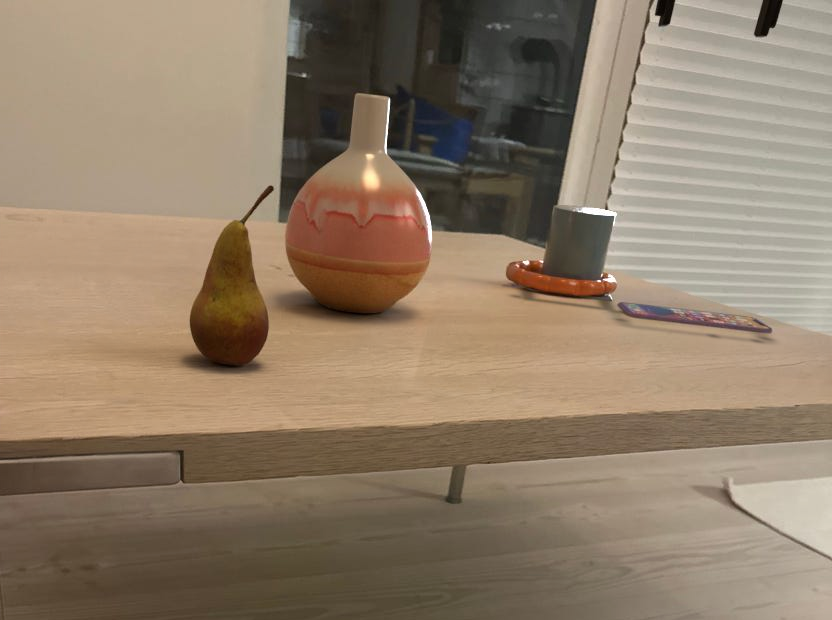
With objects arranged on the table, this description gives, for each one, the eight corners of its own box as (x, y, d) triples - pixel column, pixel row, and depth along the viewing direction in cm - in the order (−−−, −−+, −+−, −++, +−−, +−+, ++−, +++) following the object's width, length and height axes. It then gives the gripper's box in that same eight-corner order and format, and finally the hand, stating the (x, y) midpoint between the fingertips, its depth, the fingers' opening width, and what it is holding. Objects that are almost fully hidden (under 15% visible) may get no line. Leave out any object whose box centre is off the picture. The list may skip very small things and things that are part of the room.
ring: (609, 282, 110) (612, 268, 109) (618, 302, 99) (622, 286, 98) (505, 269, 111) (508, 255, 110) (503, 287, 100) (506, 271, 99)
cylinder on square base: (602, 293, 109) (621, 210, 104) (610, 308, 101) (631, 219, 96) (526, 283, 109) (541, 200, 105) (528, 298, 102) (545, 209, 97)
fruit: (219, 347, 71) (223, 174, 65) (281, 364, 69) (291, 186, 63) (172, 360, 67) (171, 176, 61) (235, 378, 64) (242, 189, 58)
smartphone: (613, 309, 101) (750, 325, 100) (627, 322, 94) (773, 339, 94) (615, 301, 100) (753, 316, 100) (629, 313, 94) (776, 330, 94)
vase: (261, 308, 84) (271, 84, 75) (306, 284, 96) (320, 87, 86) (406, 332, 82) (434, 103, 73) (435, 305, 93) (463, 104, 84)
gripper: (851, -174, 87) (788, 42, 95) (665, -191, 88) (621, 24, 97) (879, -195, 80) (809, 38, 89) (679, -214, 81) (630, 19, 90)
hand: (711, 31), depth 93 cm, fingers open, 9 cm apart
